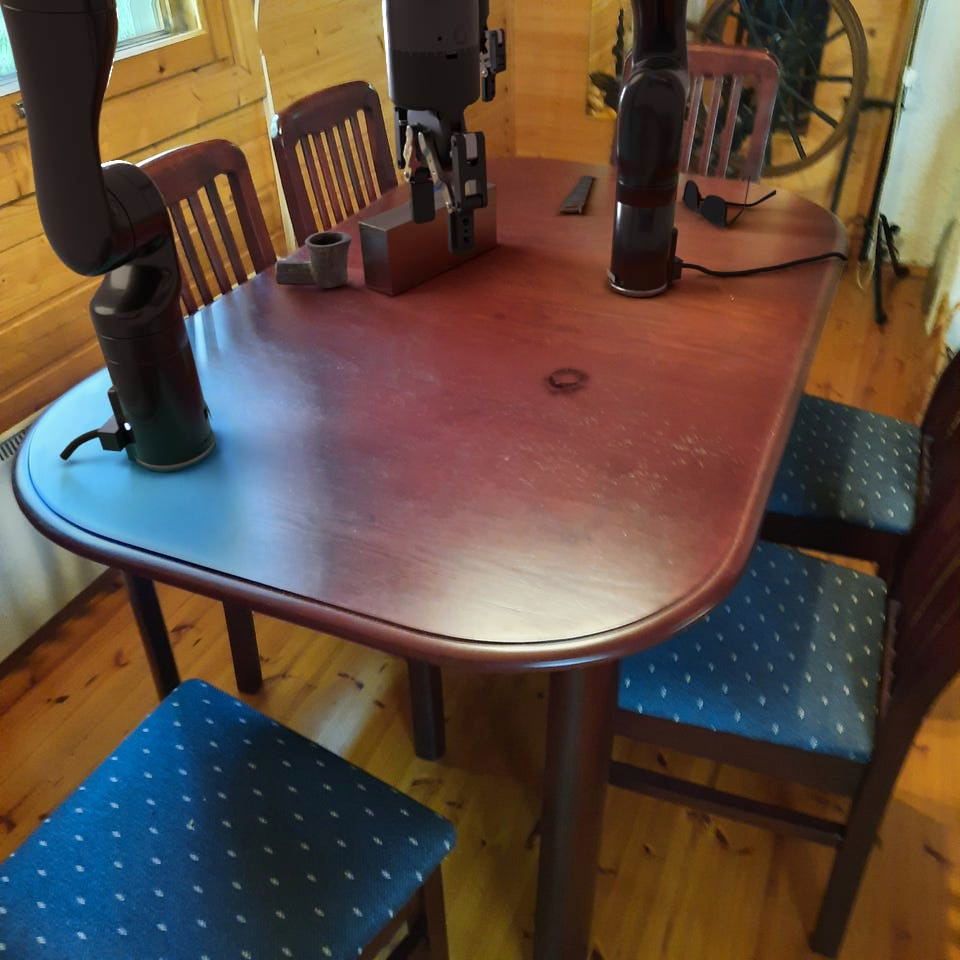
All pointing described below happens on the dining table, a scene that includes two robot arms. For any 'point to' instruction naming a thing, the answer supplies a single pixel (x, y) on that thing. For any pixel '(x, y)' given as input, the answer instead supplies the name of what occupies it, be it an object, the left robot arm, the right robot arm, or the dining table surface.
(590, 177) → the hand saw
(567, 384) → the necklace
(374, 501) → the dining table surface
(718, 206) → the sunglasses
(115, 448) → the left robot arm
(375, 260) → the box
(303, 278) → the pipe
